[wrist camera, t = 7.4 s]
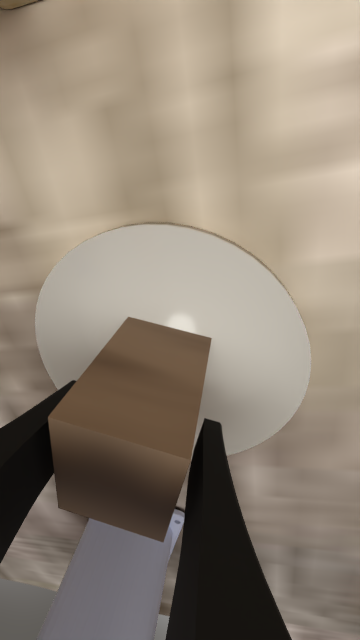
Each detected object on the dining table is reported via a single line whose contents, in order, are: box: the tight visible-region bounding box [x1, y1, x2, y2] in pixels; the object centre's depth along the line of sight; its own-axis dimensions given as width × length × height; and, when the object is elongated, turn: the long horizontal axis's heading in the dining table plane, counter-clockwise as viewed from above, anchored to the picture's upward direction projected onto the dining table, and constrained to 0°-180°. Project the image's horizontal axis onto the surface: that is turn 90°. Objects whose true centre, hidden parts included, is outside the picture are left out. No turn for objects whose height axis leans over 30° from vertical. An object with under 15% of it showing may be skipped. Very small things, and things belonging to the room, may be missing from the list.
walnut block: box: [48, 317, 212, 542], centre depth 11 cm, size 5×4×6 cm
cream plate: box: [35, 222, 311, 459], centre depth 14 cm, size 14×14×1 cm
